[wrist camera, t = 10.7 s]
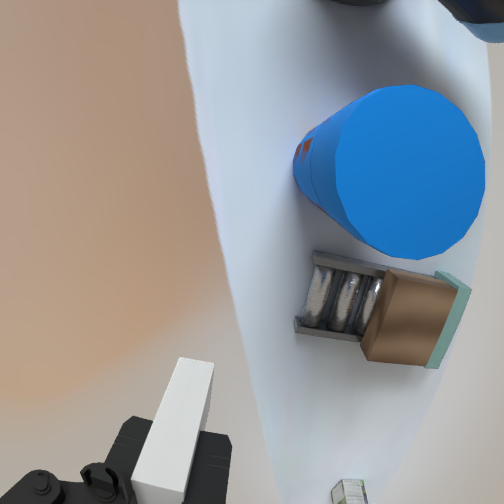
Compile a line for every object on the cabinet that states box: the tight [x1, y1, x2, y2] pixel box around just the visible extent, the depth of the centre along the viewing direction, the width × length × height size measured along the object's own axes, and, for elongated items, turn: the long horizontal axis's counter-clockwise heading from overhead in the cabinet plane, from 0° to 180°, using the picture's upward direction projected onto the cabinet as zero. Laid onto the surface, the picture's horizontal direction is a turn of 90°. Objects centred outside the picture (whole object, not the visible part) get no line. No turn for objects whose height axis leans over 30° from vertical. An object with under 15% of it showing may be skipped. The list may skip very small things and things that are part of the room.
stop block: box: [424, 270, 472, 369], centre depth 42 cm, size 13×3×7 cm, turn 169°
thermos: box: [293, 85, 485, 260], centre depth 28 cm, size 11×11×25 cm
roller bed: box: [294, 250, 437, 342], centre depth 44 cm, size 11×20×3 cm, turn 79°
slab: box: [360, 268, 458, 366], centre depth 40 cm, size 12×10×4 cm
